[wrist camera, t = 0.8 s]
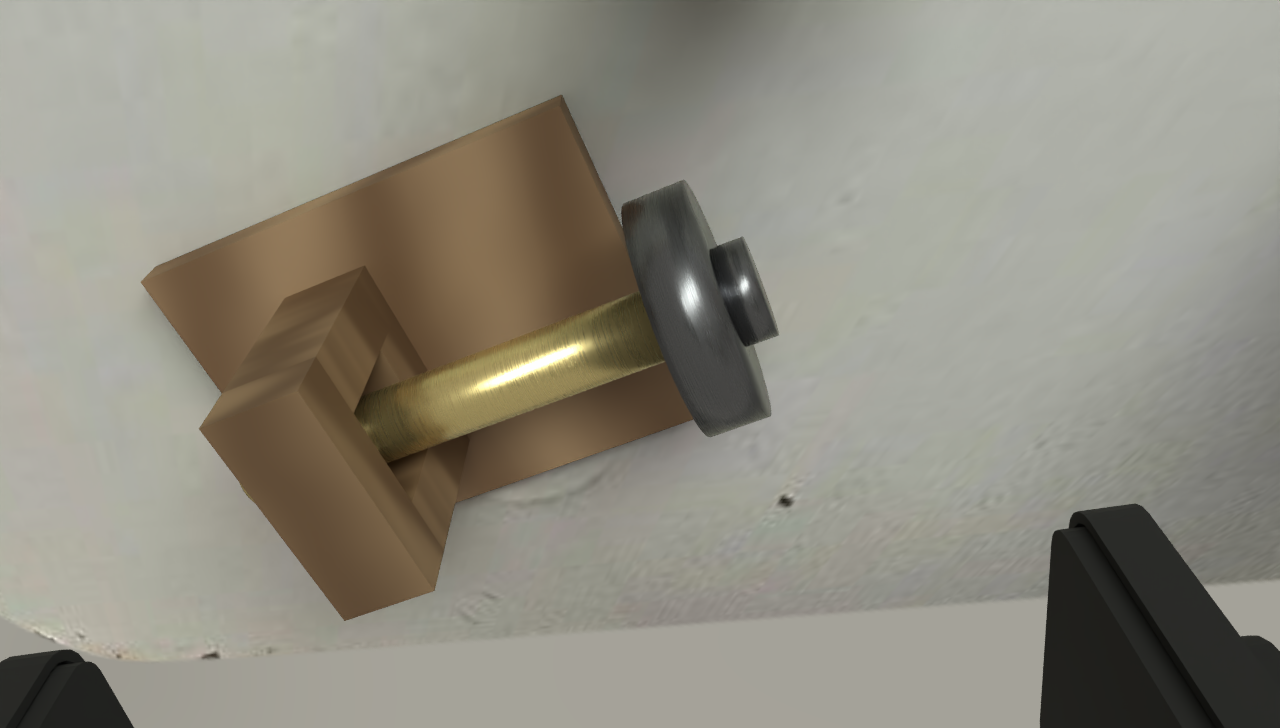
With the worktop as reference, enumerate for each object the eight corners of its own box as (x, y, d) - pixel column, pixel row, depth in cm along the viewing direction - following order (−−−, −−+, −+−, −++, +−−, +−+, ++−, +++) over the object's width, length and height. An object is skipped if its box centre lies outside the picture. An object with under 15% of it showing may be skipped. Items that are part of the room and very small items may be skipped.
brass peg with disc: (707, 133, 31) (728, 225, 24) (783, 329, 34) (819, 453, 28) (230, 326, 34) (140, 451, 27) (343, 488, 37) (286, 633, 31)
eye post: (561, 95, 32) (541, 198, 24) (699, 398, 37) (719, 563, 29) (155, 266, 34) (16, 411, 26) (340, 525, 40) (271, 707, 32)
